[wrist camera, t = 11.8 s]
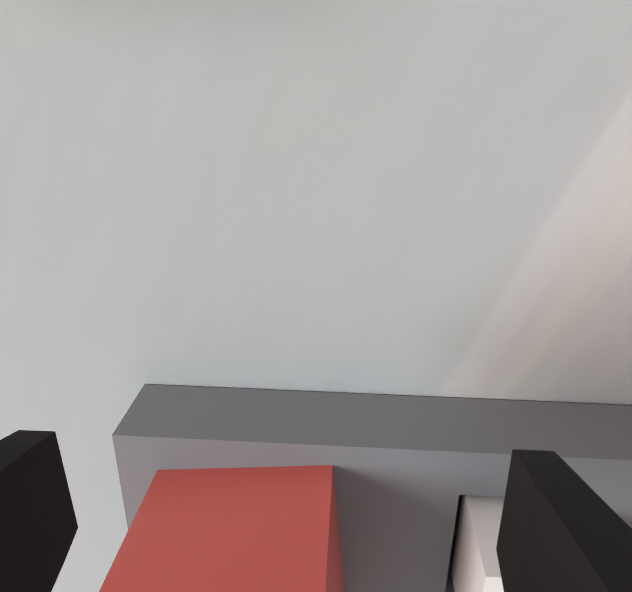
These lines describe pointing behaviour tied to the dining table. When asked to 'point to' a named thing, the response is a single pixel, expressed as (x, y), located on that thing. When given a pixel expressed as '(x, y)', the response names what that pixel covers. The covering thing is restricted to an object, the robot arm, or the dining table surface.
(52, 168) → the dining table surface
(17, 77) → the dining table surface
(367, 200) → the dining table surface
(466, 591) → the block
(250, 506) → the cap
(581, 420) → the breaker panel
